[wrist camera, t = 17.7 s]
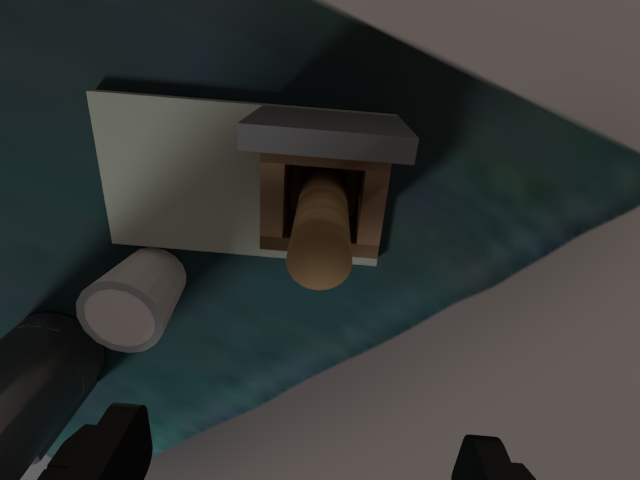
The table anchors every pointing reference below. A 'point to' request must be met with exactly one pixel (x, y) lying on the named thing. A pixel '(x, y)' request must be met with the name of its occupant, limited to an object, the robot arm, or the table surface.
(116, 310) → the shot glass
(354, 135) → the wall
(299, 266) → the dowel
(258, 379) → the table surface
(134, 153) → the board
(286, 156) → the wooden open box
